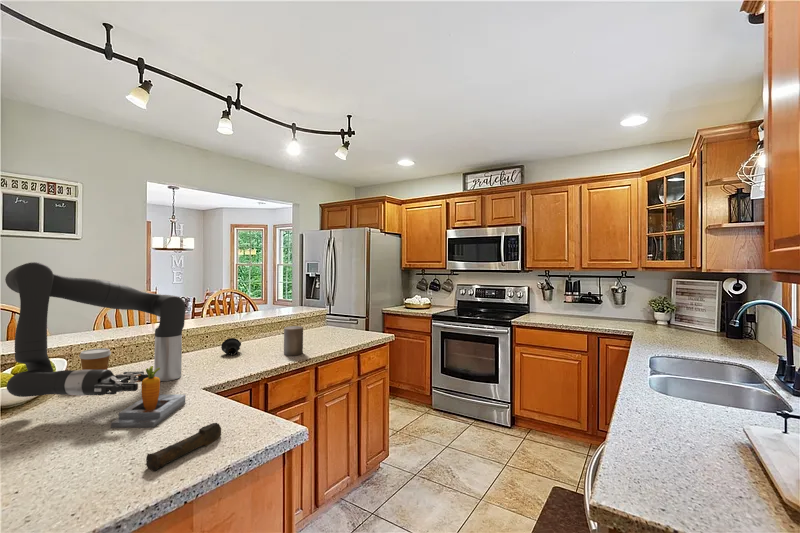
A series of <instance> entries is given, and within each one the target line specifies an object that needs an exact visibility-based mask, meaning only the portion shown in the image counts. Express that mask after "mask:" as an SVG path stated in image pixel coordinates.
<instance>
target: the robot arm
mask: <svg viewBox="0 0 800 533" xmlns="http://www.w3.org/2000/svg"><path fill="white" fill-rule="evenodd" d="M4 282H5V284H6V285H7V287H8V288H9V289H10V290H11V291H13V292H14V293H17V294H18V295H19V302H20V303H19V304H20V305H19V306H20V310H19V316H18V321H17V323H16V328H15V333H14V335H15V336H14V360H15V362H16V363H17V364H18V363H19V364H24V365H25V366H26V371H21V372H18V373H16V374H14V375H13V376H11V377H10V379H9V380H7V383H6V390H7V392H8V393H9V394H11V396H14V397H19V398H28V397H38V396H48V395H62V396H63V395H64V396H65V395H72V396H73V395H74V396H104V395H110V396H111V395H112V396H114V395H117V393H123V392H136V391H138V389H139V383H142V381H143V380H144V379H145V378H148V374H147V373H145V372H144V371H142V370H141V371H123V372H122V373H117V374H114V373H113V371H112V370H110V369H107V370H82V369H78V370H77V369H75V370H74V369H72V370H70V369H69V370H68V369H67V370H57V371H54V368H53V366H52V363H51V359H50V357H49V355H48V313H49V305H50V304H49V303H50V297H51V298H56V299H57V298H59V299H62V300H63V299H64V300H69V301H72V302H76V303H81V304H84V305H90V306H94V307H99V308H104V309H105V308H106V309H113V310H125V311H139V312H143V313H146V314H150V315H153V316H157V317H159V324H158V327H156V329H155V330H154V355H153V356H154V357H153V358H154V361H153V362H154V363H153V364H154V365H153V371H155V370H156V369H157V368H160V370H158V371H157V372H156V373H155V375H154V377H159V378H160V382H169V381H174V380H178V379H180V378H181V377H182V363H183V362H182V357H183V353H182V348H183V347H182V343H183V342H182V341H183V340H182V337H183V329H184V327H185V318H186V305H185V304H186V303H185V302H184V299H183V298H181V297H180V296H177V295H171V294H162V293H160V294H158V293H150V292H147V291H145V292H144V291H142V290H139V289H136V288H133V287H131V286H128V285H126V284H121V283H119V282H113V281H109V280H105V279H96V278H84V277H71V276H70V277H69V276H65V275H59V274H56V273H54V272H53V270H52V269H51V268H50V267H49V266H48V265H46V264H44V263H42V262H34V261H33V262H32V261H31V262H28V263H23V264H21V265H19V266H16V267H14V268H13V269H11V270H9V271H8V272H7V274H6V276H5V281H4Z"/></svg>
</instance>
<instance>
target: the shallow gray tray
mask: <svg viewBox="0 0 800 533" xmlns="http://www.w3.org/2000/svg"><path fill="white" fill-rule="evenodd" d="M185 404H186V394H177V393H176V394H175V393H174V394H168V393H167V394H164V393H163V394H160V393H159V398H158V402H157V405H156V408H155V410H146V409H145V407H144V404H143V400H142V398H141V399H139V400H138V401H136V402H134V403H132V404H131V405H129V406H128V407H126V408H124V409H123V410H121V411H119V412H118V418H116V419H115V420H113V421H111V422H110V428H111V429H120V428H121V429H128V428H132V429H133V428H138V429H140V428H141V429H143V428H147V429H148V428H151V429H152V428H155V427H157V426H158V425H159V424H160V423H162V422H163V421H164V420H166V419H167V418H169V416H171V415H172V414H174V412H176V411H177V410H179V409H180V408H181V407H183V406H184V405H185Z"/></svg>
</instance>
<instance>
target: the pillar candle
mask: <svg viewBox="0 0 800 533" xmlns="http://www.w3.org/2000/svg"><path fill="white" fill-rule="evenodd" d="M303 348H304V327H303V326H301V325H291V326H285V327H283V355H284V356H287V357H289V356H294V357H295V356H300V355H301V356H302V355H303V353H304V351H303Z"/></svg>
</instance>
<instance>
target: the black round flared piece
mask: <svg viewBox="0 0 800 533" xmlns="http://www.w3.org/2000/svg"><path fill="white" fill-rule="evenodd" d="M220 345H221V347H220V348H221V350H222V352H223V353H225V354H226V355H229V356H233V355H236V354H237V353H238V352H239V351H240V350H241V345H242V342H241V341H240V340H239V339H238V338H235V337H230V338H227V339H225V340H224V341H222V343H221V344H220Z"/></svg>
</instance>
